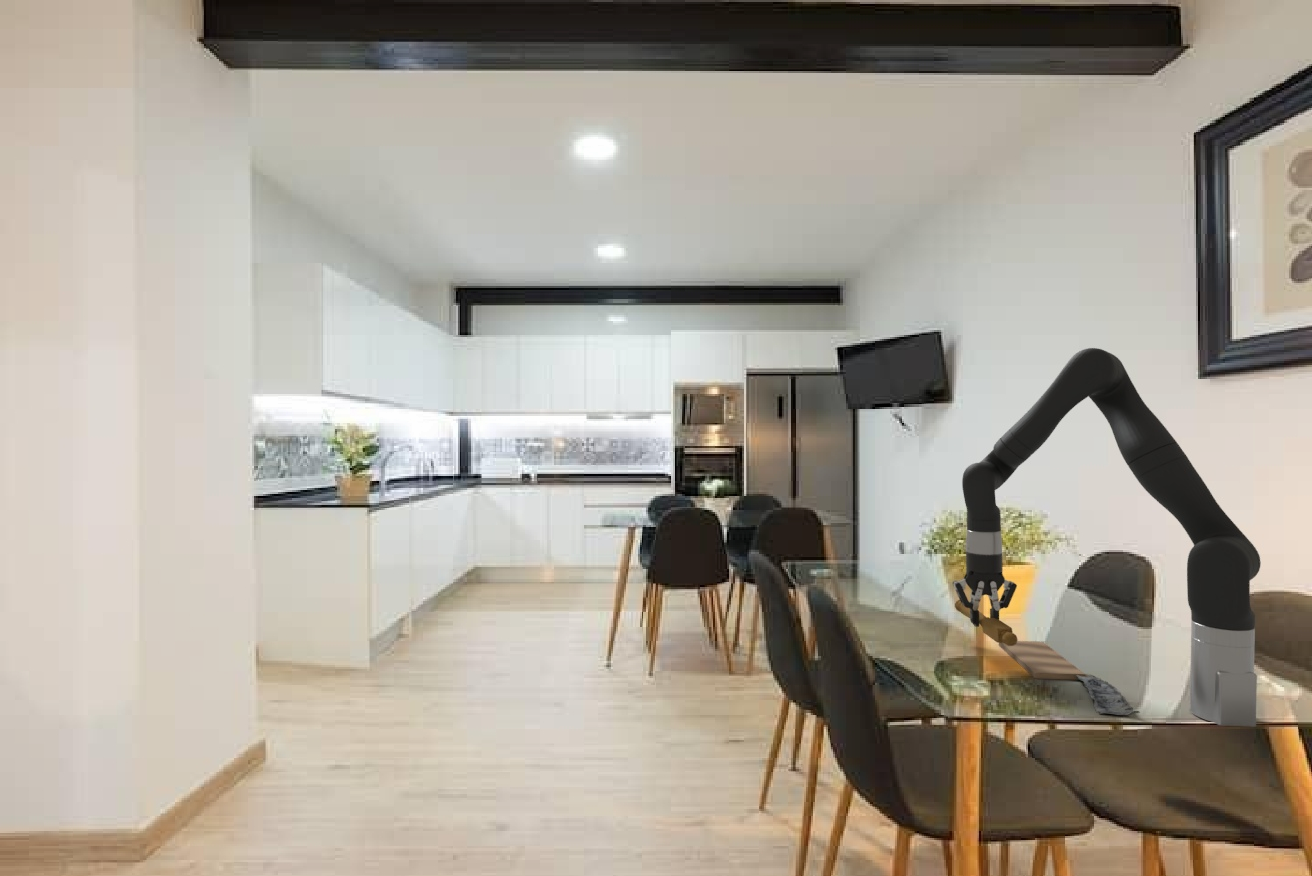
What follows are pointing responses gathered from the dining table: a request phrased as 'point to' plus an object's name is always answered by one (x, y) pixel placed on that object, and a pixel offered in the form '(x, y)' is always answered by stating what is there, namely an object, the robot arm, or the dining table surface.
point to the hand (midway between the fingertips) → (984, 625)
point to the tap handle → (991, 626)
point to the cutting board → (1041, 660)
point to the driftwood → (1106, 696)
